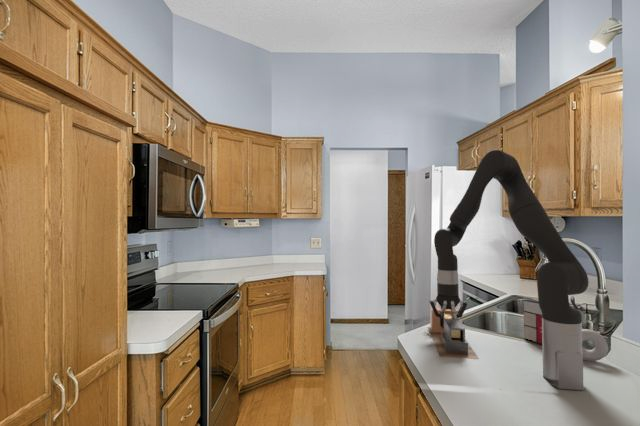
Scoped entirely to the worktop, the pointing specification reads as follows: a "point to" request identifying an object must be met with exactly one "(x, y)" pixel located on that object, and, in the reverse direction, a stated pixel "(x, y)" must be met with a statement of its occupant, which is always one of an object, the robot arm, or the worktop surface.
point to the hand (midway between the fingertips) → (448, 328)
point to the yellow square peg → (453, 332)
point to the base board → (437, 341)
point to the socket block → (438, 319)
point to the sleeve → (454, 343)
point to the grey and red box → (532, 321)
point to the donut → (599, 342)
